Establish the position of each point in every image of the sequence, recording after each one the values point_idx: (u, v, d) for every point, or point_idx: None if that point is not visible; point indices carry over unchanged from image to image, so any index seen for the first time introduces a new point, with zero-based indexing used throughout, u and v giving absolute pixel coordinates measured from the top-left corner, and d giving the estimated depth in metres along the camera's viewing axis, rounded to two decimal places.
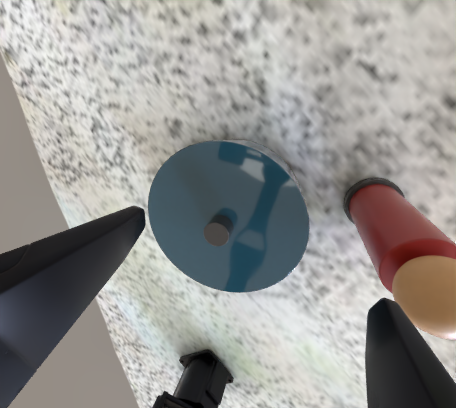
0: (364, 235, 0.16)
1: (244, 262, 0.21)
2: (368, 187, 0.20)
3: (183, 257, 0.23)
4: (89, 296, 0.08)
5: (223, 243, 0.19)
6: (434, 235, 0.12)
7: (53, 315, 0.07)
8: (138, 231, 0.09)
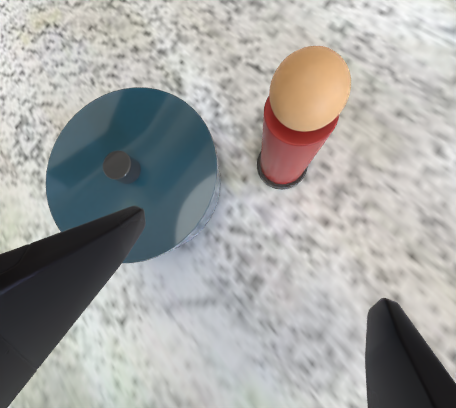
0: (262, 140, 0.17)
1: (151, 212, 0.18)
2: None
3: (77, 221, 0.19)
4: (89, 296, 0.08)
5: (123, 173, 0.17)
6: None
7: (53, 315, 0.07)
8: (138, 231, 0.09)
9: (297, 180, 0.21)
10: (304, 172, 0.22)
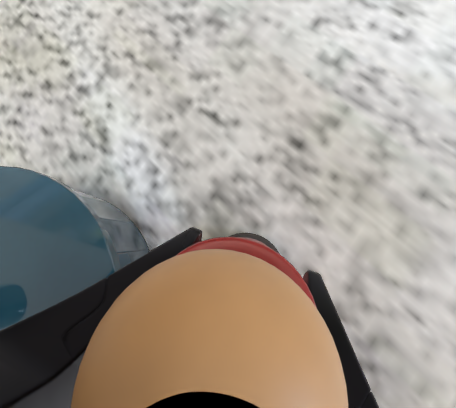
0: None
1: None
2: None
3: None
4: None
5: None
6: None
7: None
8: None
9: None
10: None
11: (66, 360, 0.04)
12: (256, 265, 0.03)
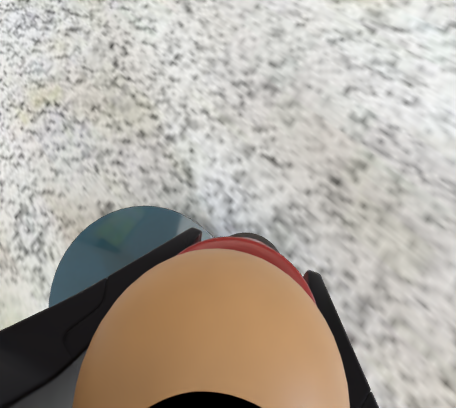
0: None
1: None
2: None
3: None
4: None
5: None
6: None
7: None
8: None
9: None
10: None
11: (66, 360, 0.04)
12: (257, 264, 0.03)
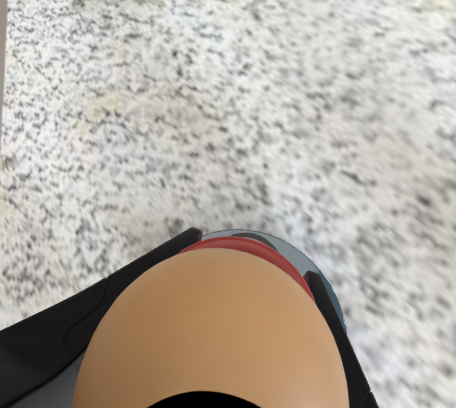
0: None
1: None
2: None
3: None
4: None
5: None
6: None
7: None
8: None
9: None
10: None
11: (66, 360, 0.04)
12: (257, 264, 0.03)
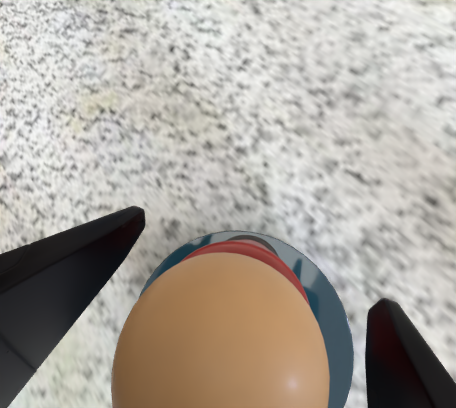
0: None
1: None
2: None
3: None
4: (89, 297, 0.08)
5: None
6: None
7: (53, 315, 0.07)
8: (138, 231, 0.09)
9: None
10: None
11: None
12: (257, 266, 0.04)
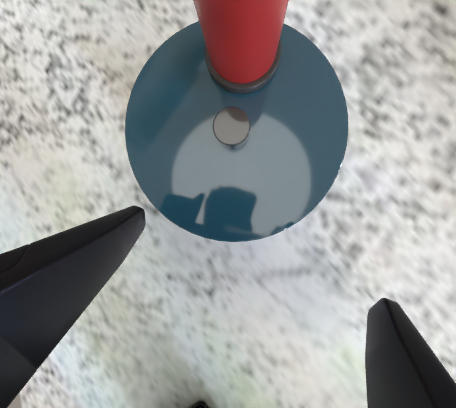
0: None
1: (266, 184, 0.15)
2: None
3: (174, 195, 0.16)
4: (89, 297, 0.08)
5: (242, 137, 0.14)
6: None
7: (53, 315, 0.07)
8: (138, 231, 0.09)
9: (264, 77, 0.14)
10: (275, 63, 0.14)
11: None
12: None
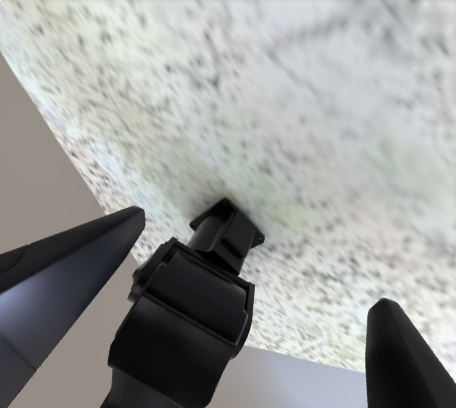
0: None
1: None
2: None
3: None
4: (89, 297, 0.08)
5: None
6: None
7: (53, 315, 0.07)
8: (138, 231, 0.09)
9: None
10: None
11: None
12: None
